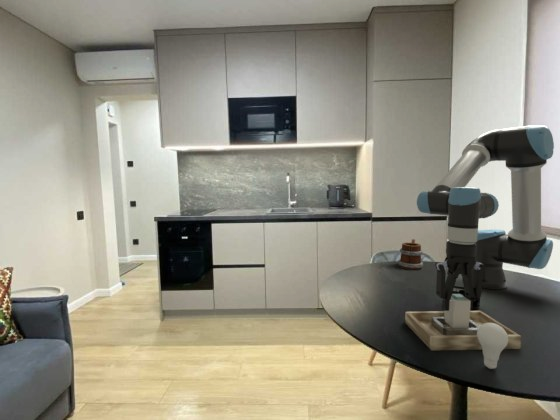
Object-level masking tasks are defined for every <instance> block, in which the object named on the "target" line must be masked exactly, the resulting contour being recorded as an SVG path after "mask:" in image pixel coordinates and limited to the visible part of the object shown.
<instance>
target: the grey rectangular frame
mask: <svg viewBox="0 0 560 420" xmlns="http://www.w3.org/2000/svg"><path fill="white" fill-rule="evenodd" d="M431 323H432V326H433V327H434V328H435V329H436V330H438V331H439V332H440V333H441V334H442V335H445V336H450V335H477V330H478V328H479V327H480V325H478V324H477V323H475V322H474V321H472V320H471V319H470V320H469V328H446V327H445V326H444V325H449V324H447V323H446V322H445V319H444V317H432V322H431Z"/></svg>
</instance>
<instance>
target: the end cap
mask: <svg viewBox="0 0 560 420" xmlns="http://www.w3.org/2000/svg"><path fill="white" fill-rule="evenodd" d="M452 294H461V295H463V296H464V297H465V298H466V296H465V291H464V286H462V285H461V286H460V285H455V286H454V289H453V293H452ZM480 303H481V297H480V298H476V301H473V309H472V310H470V311H479V307H481V306H480Z"/></svg>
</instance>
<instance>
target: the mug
mask: <svg viewBox="0 0 560 420" xmlns="http://www.w3.org/2000/svg"><path fill="white" fill-rule="evenodd" d="M399 253H400V259H399V260H398V261H397V262H398V266H399V267H400V268H402V269H404V270H409V271H418V270H421V269H423V266H424V263H423V261H422V255H423V250H422V245H421V244H420V243H416V239H415V238H413V239H411V242H403V243H402V244H401V248H400V249H399Z"/></svg>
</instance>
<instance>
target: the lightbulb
mask: <svg viewBox="0 0 560 420" xmlns="http://www.w3.org/2000/svg"><path fill="white" fill-rule="evenodd" d="M477 337H478V340H479V342H480V344H481V346H482V349H483V350H482V355H483V364H484V366H485V367H487V368H488V369H489V370H493V369H497V367H498V361H499V359H500V356H501V353H502V351H503V350H505V349H504V348H505V347H506V346H507V344H508V335H507V333H506V331H505V330H504V329H503V328H502V327H501V326H499V325H497V324H495V323H484V324H482V325H481V326H480V327H479V328H478V330H477Z"/></svg>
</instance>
